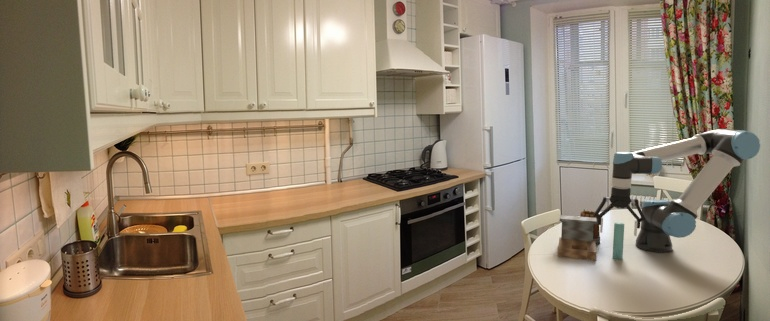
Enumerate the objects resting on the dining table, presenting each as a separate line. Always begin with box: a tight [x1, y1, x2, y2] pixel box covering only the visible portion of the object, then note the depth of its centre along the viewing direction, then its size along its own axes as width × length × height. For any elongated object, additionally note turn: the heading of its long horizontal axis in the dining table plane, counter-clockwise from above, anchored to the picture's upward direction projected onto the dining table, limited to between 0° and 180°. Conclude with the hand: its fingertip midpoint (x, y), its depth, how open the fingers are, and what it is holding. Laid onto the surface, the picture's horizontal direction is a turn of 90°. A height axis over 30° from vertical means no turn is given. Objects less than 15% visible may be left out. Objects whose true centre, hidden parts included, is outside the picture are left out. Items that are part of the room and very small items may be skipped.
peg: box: [612, 222, 625, 261], centre depth 202 cm, size 4×4×16 cm
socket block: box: [557, 214, 598, 262], centre depth 210 cm, size 16×17×15 cm
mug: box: [579, 209, 601, 246], centre depth 227 cm, size 16×11×15 cm
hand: (617, 233), depth 201 cm, fingers open, 13 cm apart
